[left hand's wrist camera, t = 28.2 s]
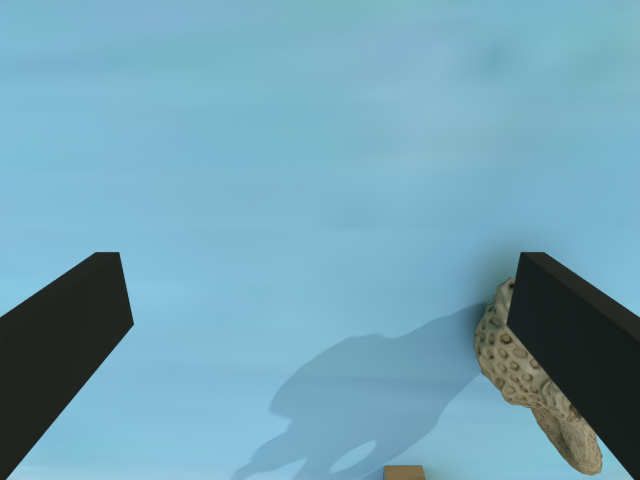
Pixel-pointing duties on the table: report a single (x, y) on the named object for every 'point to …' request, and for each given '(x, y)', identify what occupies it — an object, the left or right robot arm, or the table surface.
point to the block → (403, 473)
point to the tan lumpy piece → (532, 386)
